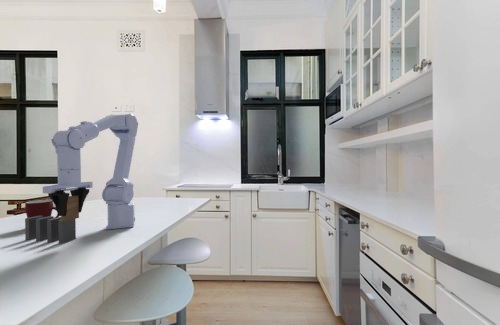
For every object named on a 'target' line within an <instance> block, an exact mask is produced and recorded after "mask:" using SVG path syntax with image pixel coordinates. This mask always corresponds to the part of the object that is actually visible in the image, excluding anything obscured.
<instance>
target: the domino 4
mask: <svg viewBox="0 0 500 325" xmlns="http://www.w3.org/2000/svg"><path fill="white" fill-rule="evenodd" d="M60 217H61V221H68V220H72V219H75V220H76V219H79V218H80V213H79V196H77V195H74V196H72V195H69V197H68V202H67V214H66V216H60Z"/></svg>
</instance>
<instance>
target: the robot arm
mask: <svg viewBox="0 0 500 325" xmlns="http://www.w3.org/2000/svg"><path fill="white" fill-rule="evenodd" d="M138 126H139V122H138V120H137V117H136V116H135V115H134V114H133V113H127V114H122V113H121V114H108V115H105V117H103V118H101V119H99V120H97V121H95V122H92V121H86V120H83V121H80V122H79V124H78V125H75V126H74V125H73V126H69V127H68V129H66V130H58V131H56V132H55V134H54V135H53V137H52V138H51V143H52V146H53V147H54V149H55V153H56V156H57V184H52V185H46V186H45V185H44V186H42V194H48V198H50V200H52V201H53V205H54V207H56V209H57V211H56V213H57V212H58V215H59V217H61V216H66V214H67V202H68V197H69V196H74V195H77V196H79V214H80V213H81V212H83V211H82V210H83V206H84V203H85V201H86V198H87V197H88V195H89V193H90V189H92V188H93V187H94V186H93V185H94V184H93V181H82V177H81V176H82V166H81V162H82V161H81V158H82V157H81V149H83V148H84V147H85V145H86V143H87V142H90V141H92V140H94V139H96V138H98V137H99V135H100V133H101V132H103V131H105V130H107V129H109V130H110V131H111V133H113V135H114V136H115V137H116V138H118V139H119V145H118V150H117V155H116V159H115V164H114V170H113V175H112V178H110V179H109V180H108V181H107V182H106V183H105V187H104V188H103V190H102V192H101V197H102V200H103V202H105V205H107V225H106V226H105V227H104V229H105V230H115V229H116V230H117V229H127V228H134V226H135V222H136V217H135V202H131V201H132V200H133V198H134V184H133V183H132V181H131V180H129V176H130V171H131V164H132V160H133V159H132V158H133V155H134V154H133V153H134V148H135V143H136V137H137V133H138ZM68 191H69V192H68Z"/></svg>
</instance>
